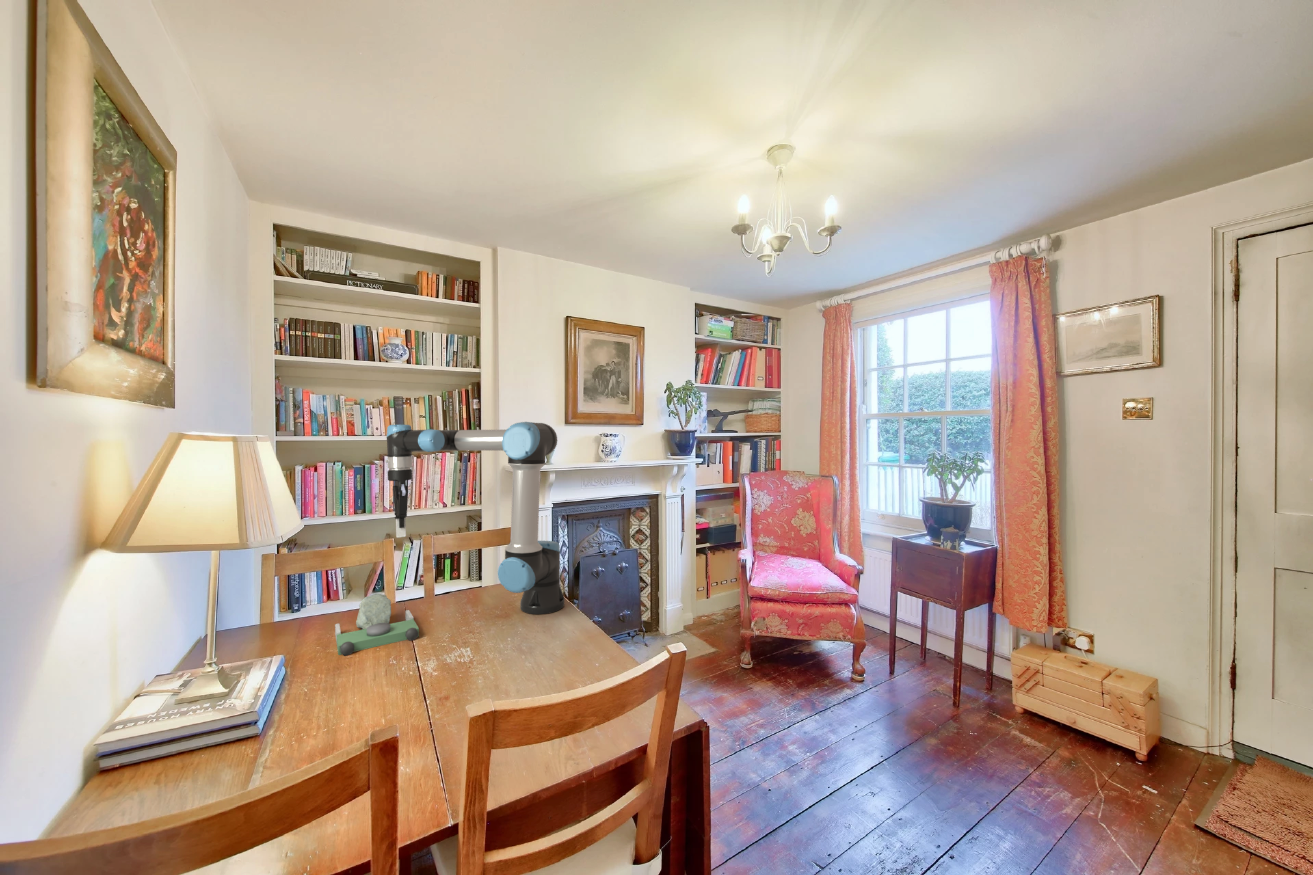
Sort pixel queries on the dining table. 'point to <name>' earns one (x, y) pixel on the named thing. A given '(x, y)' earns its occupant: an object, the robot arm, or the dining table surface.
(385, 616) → the decorative stone
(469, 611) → the dining table surface
